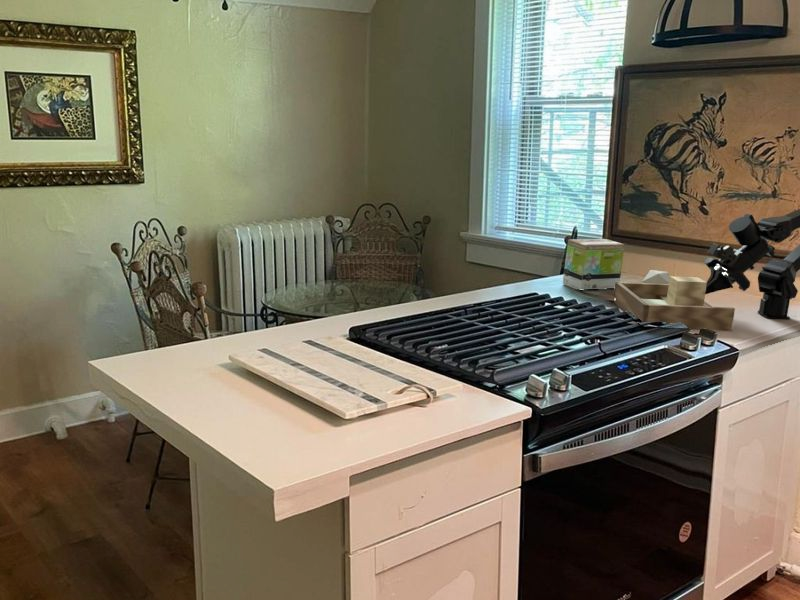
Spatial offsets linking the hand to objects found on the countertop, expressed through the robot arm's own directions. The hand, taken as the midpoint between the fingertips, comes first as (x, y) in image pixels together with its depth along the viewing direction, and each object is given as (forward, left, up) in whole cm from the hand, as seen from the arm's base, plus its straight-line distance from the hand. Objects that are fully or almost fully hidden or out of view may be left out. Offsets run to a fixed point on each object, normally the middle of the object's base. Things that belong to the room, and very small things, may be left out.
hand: (701, 293), depth 215 cm
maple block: (+4, 0, -4) cm, 6 cm away
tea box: (+22, -32, -7) cm, 39 cm away
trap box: (+9, 0, -7) cm, 11 cm away
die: (+5, -21, -7) cm, 23 cm away
